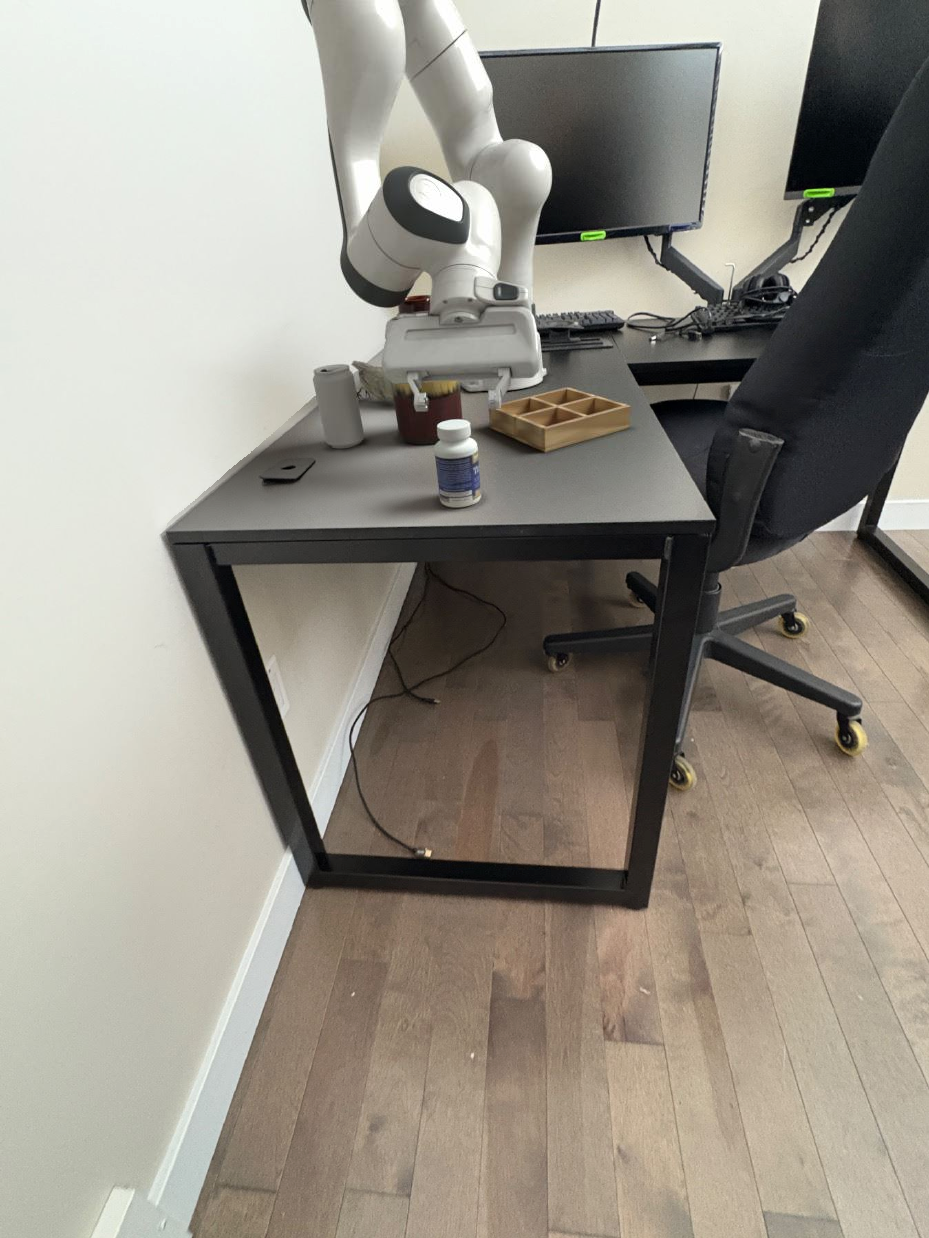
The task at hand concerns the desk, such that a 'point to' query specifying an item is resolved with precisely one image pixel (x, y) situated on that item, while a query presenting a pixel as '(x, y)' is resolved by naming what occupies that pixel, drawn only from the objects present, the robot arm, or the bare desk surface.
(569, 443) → the wooden compartment tray
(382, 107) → the robot arm
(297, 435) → the desk surface
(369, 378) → the decorative bird
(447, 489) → the pill bottle
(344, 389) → the beverage can
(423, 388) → the vase
